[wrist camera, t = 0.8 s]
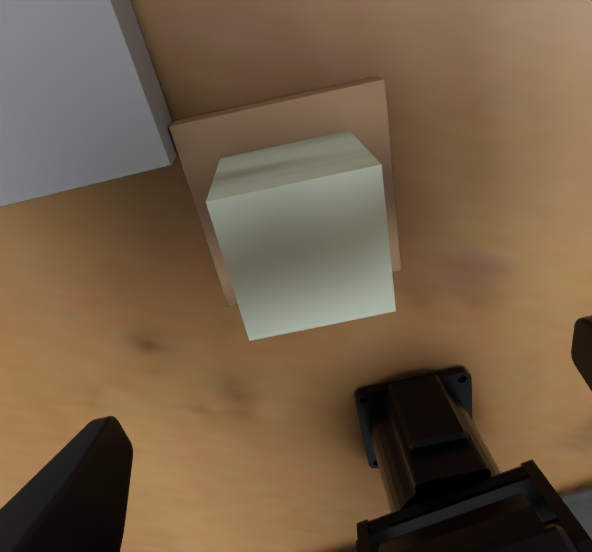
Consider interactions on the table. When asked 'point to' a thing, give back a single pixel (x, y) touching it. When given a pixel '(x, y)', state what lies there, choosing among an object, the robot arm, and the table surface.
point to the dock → (76, 97)
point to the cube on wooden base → (298, 205)
